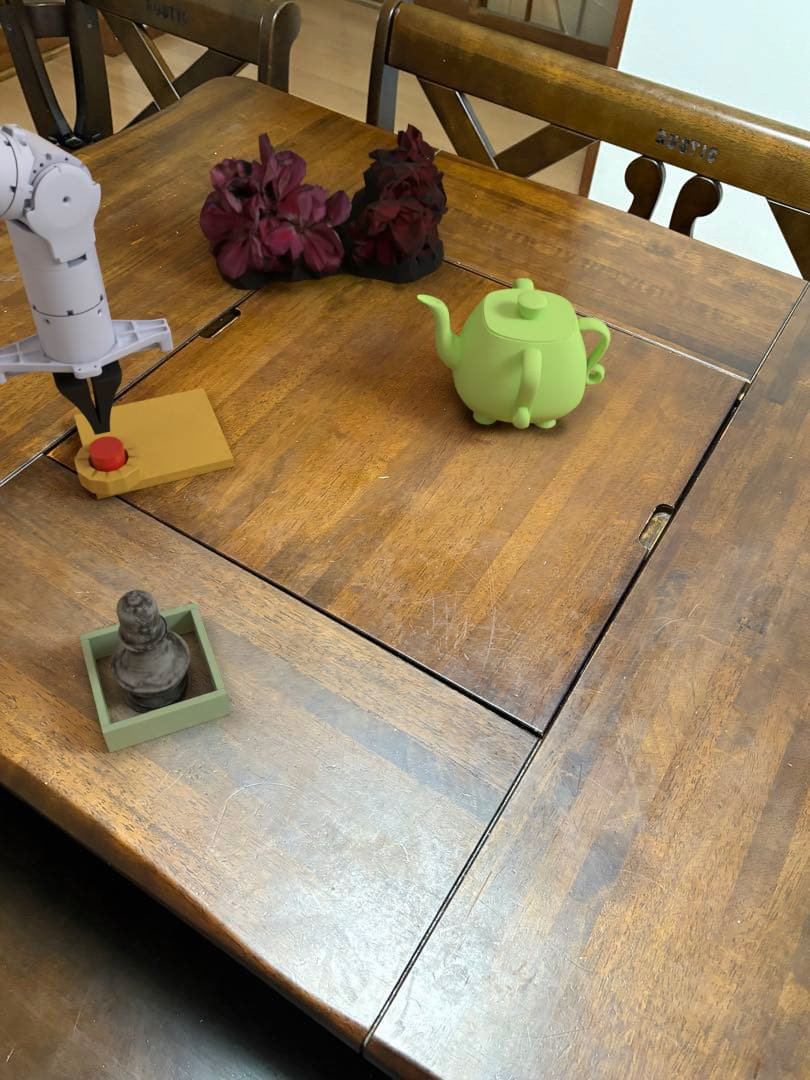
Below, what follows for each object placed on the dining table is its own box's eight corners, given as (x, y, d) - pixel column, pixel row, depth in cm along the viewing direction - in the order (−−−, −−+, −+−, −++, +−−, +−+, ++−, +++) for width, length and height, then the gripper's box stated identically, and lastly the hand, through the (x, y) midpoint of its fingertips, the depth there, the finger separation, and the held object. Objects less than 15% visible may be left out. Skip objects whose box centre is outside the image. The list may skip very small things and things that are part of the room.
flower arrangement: (413, 198, 124) (422, 84, 112) (479, 277, 112) (496, 159, 101) (186, 236, 114) (170, 116, 103) (233, 327, 103) (220, 203, 91)
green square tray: (109, 753, 68) (102, 733, 66) (86, 656, 73) (78, 634, 71) (230, 714, 71) (227, 693, 68) (199, 623, 76) (195, 601, 74)
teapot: (494, 471, 90) (513, 370, 81) (407, 392, 97) (415, 290, 88) (608, 411, 97) (638, 311, 88) (519, 341, 104) (538, 242, 95)
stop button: (95, 476, 83) (92, 462, 82) (89, 454, 85) (85, 440, 83) (129, 468, 84) (125, 454, 82) (122, 446, 86) (119, 433, 84)
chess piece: (121, 724, 70) (90, 634, 61) (116, 661, 73) (85, 566, 64) (199, 708, 71) (180, 617, 62) (190, 647, 74) (171, 552, 65)
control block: (88, 510, 84) (81, 487, 81) (65, 426, 91) (58, 403, 88) (237, 473, 88) (235, 451, 85) (204, 396, 95) (201, 373, 93)
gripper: (-27, 343, 66) (21, 476, 76) (172, 306, 71) (192, 436, 81) (-37, 289, 70) (10, 422, 81) (151, 258, 75) (173, 387, 85)
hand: (100, 426), depth 81 cm, fingers closed
